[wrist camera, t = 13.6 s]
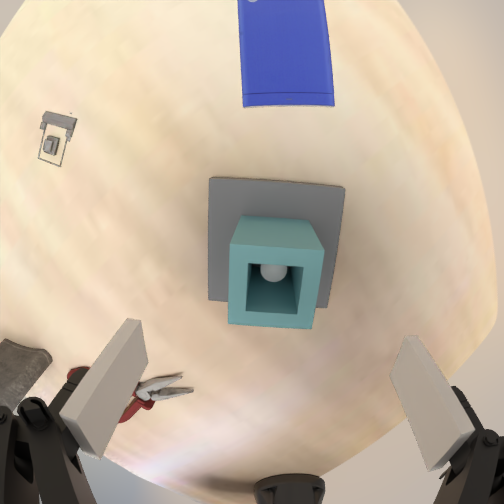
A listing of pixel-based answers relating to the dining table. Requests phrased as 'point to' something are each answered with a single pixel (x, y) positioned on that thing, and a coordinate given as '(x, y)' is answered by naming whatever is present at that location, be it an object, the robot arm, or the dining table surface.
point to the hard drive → (285, 53)
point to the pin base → (278, 206)
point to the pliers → (148, 394)
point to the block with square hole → (274, 253)
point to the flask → (19, 371)
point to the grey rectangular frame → (52, 141)
